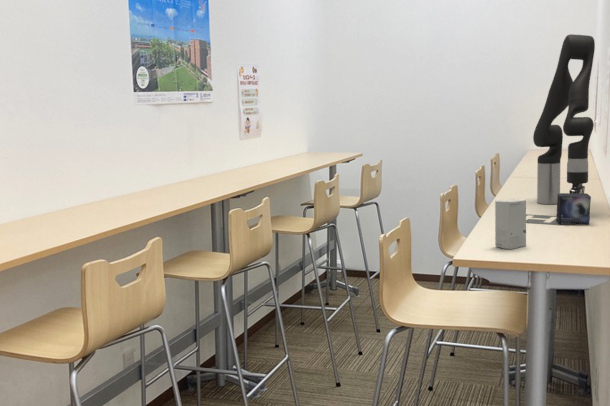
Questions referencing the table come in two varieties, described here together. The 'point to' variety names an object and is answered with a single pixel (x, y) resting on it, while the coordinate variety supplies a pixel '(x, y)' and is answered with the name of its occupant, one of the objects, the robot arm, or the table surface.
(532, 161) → the table surface
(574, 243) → the table surface
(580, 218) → the small box
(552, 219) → the letter board
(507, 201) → the skincare box
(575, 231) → the table surface
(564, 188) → the table surface
